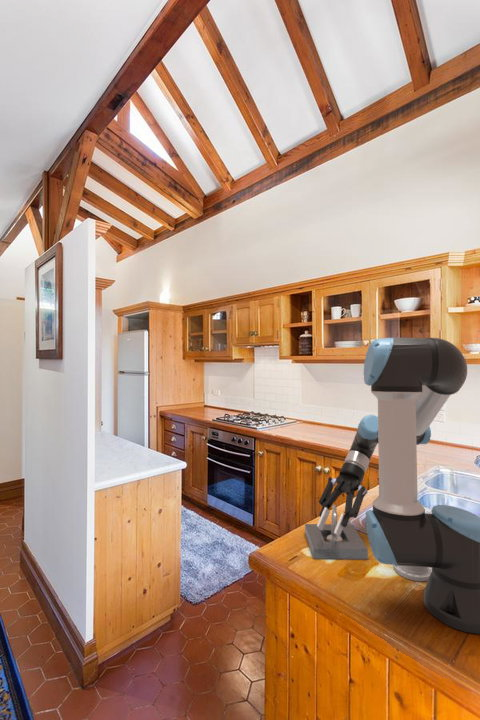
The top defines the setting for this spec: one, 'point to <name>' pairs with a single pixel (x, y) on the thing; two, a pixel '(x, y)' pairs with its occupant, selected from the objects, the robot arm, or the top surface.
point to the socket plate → (335, 543)
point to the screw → (334, 526)
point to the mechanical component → (414, 572)
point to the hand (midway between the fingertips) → (327, 531)
